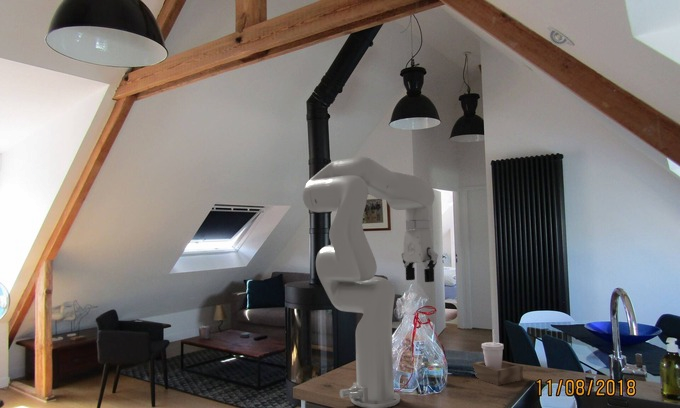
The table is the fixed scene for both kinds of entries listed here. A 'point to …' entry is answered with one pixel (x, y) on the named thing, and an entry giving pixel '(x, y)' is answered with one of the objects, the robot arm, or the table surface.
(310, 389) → the table surface
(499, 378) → the box
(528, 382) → the table surface
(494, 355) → the smoothie
